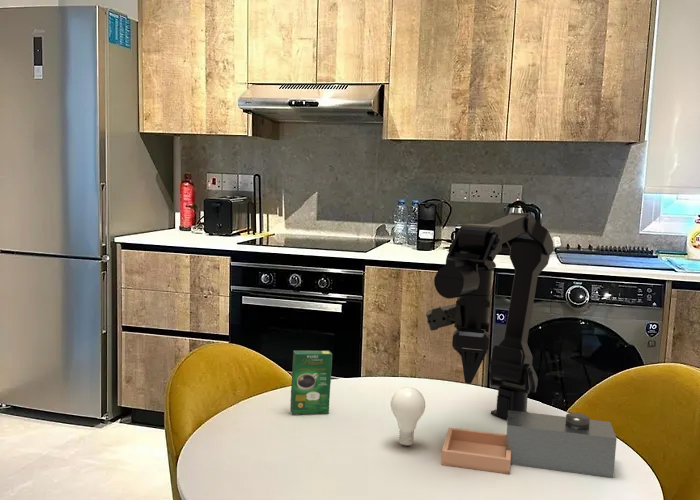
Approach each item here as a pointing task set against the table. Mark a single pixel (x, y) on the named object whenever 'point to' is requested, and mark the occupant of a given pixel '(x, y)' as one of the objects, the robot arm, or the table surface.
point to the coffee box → (311, 382)
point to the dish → (476, 450)
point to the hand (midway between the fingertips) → (468, 376)
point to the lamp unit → (561, 443)
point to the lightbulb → (407, 412)
